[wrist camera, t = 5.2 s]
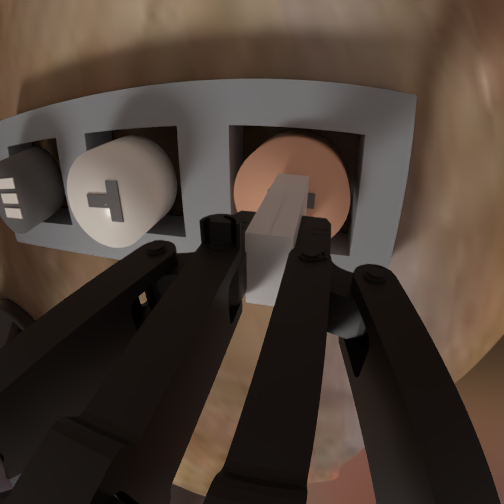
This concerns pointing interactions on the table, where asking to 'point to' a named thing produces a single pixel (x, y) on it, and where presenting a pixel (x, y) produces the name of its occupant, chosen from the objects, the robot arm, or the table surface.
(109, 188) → the button white
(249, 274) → the robot arm
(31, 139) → the panel
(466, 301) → the table surface
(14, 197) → the button black
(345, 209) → the button terracotta
